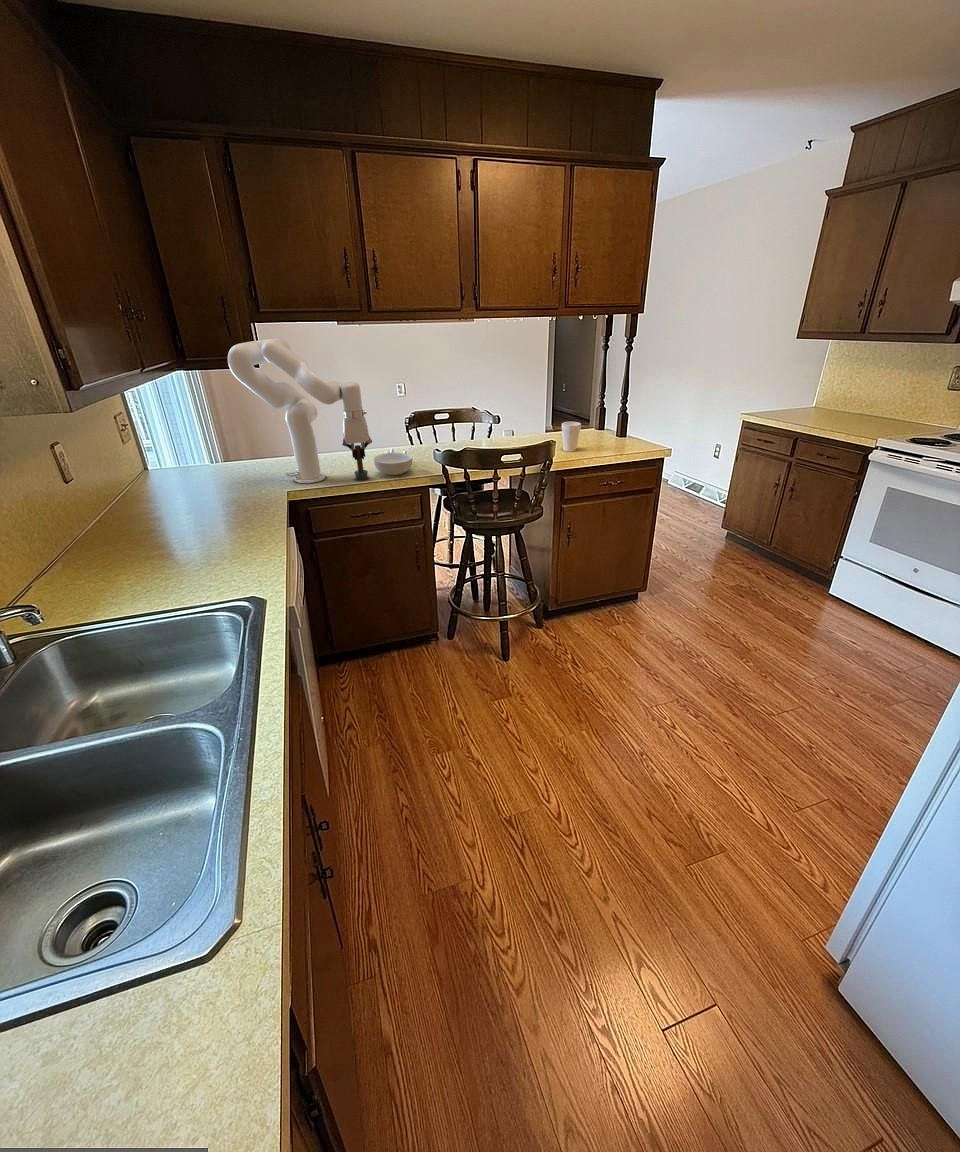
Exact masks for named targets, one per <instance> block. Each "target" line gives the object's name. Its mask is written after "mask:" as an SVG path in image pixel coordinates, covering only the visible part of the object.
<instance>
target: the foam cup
mask: <svg viewBox="0 0 960 1152" xmlns="http://www.w3.org/2000/svg"><path fill="white" fill-rule="evenodd" d="M581 429H582V423H581V422H578V421H564V422H562V423H561V437H562V450H563V451H565V452H576V451H577V446H578V441H579V437H580V432H581Z"/></svg>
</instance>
